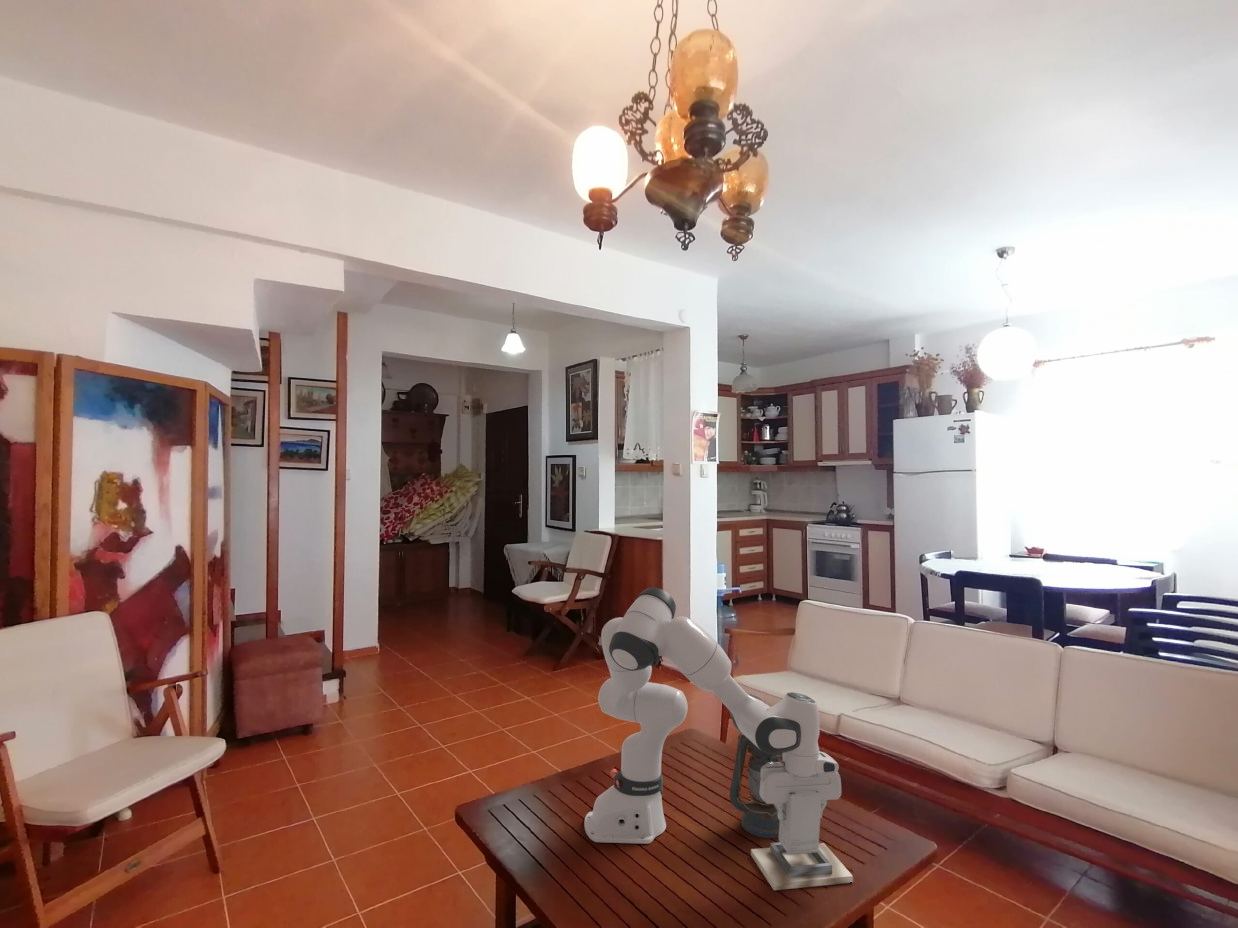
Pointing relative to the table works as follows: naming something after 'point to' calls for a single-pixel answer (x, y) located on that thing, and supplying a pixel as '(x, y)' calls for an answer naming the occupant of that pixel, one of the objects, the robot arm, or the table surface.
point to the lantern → (754, 791)
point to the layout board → (800, 867)
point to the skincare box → (801, 822)
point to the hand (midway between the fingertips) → (800, 817)
